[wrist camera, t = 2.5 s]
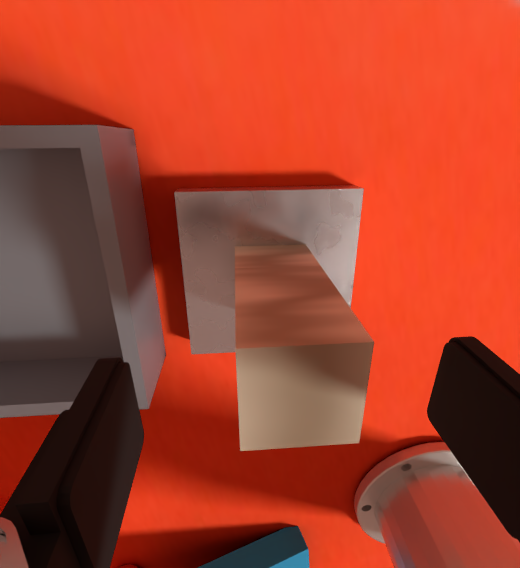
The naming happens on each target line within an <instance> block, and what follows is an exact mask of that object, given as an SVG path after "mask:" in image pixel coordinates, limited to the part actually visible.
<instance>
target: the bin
mask: <svg viewBox="0 0 520 568" xmlns="http://www.w3.org/2000/svg"><path fill="white" fill-rule="evenodd" d="M165 356H166V353H165V346H164V339H163V332H162V325H161V318H160V311H159V304H158V297H157V290H156V283H155V276H154V269H153V262H152V255H151V248H150V241H149V234H148V227H147V221H146V214H145V207H144V200H143V193H142V186H141V179H140V172H139V165H138V158H137V151H136V144H135V137H134V130H133V129H126V128H118V127H110V126H102V125H5V126H0V418H4V417H21V416H37V415H54V414H61V413H62V412H63V411H65V410H69V409H70V407H71V405H72V404H73V402H74V400H75V398H76V397H77V395H78V393H79V391H80V389H81V388H82V386H83V384H84V382H85V381H86V379H87V377H88V375H89V374H90V372H91V370H92V368H93V367H94V365H95V363H96V361H97V360H98V359H100V358H117V357H120V358H122V360H123V362H128V363H129V365H130V369H131V373H132V378H133V383H134V388H135V392H136V397H137V402H138V407H139V409H149V407H150V403H151V400H152V397H153V394H154V391H155V388H156V385H157V381H158V378H159V375H160V372H161V369H162V366H163V363H164V359H165Z"/></svg>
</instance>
